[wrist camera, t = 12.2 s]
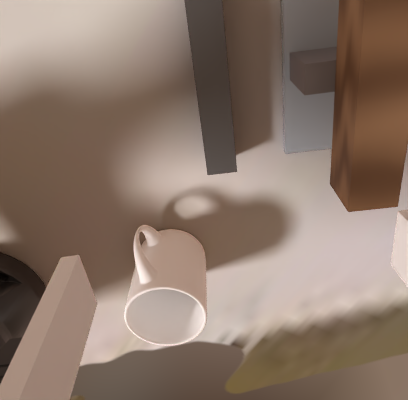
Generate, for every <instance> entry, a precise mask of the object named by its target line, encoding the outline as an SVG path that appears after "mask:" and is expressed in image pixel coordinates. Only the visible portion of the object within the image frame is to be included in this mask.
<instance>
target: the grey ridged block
mask: <svg viewBox="0 0 408 400" xmlns="http://www.w3.org/2000/svg"><path fill="white" fill-rule="evenodd" d="M338 13H339V0H281V15H282V72H283V129H284V152H285V154H289V153H298V152H307V151H315V150H324V149H332V135H333V114H334V94H335V74H336V53H337V33H338Z"/></svg>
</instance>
